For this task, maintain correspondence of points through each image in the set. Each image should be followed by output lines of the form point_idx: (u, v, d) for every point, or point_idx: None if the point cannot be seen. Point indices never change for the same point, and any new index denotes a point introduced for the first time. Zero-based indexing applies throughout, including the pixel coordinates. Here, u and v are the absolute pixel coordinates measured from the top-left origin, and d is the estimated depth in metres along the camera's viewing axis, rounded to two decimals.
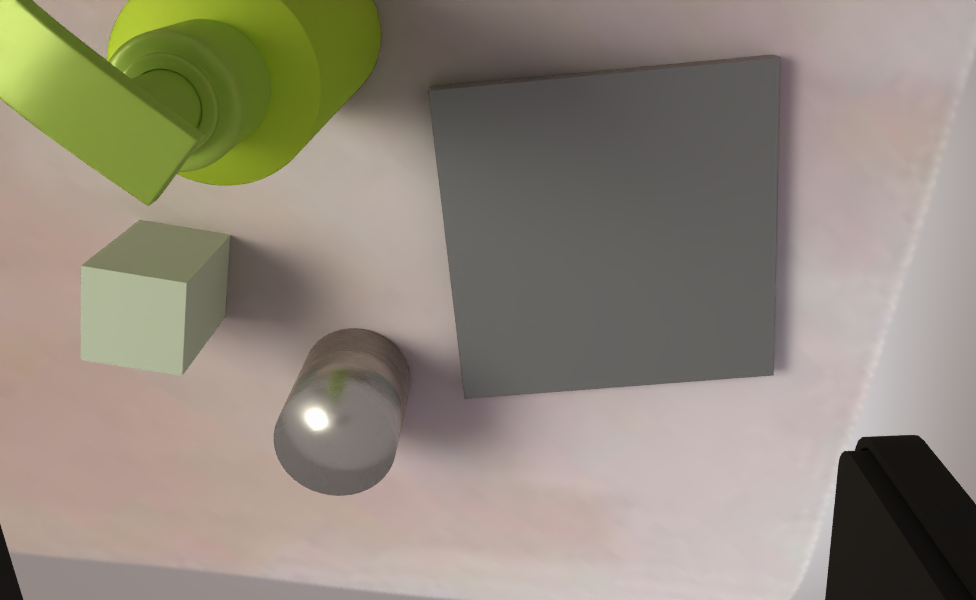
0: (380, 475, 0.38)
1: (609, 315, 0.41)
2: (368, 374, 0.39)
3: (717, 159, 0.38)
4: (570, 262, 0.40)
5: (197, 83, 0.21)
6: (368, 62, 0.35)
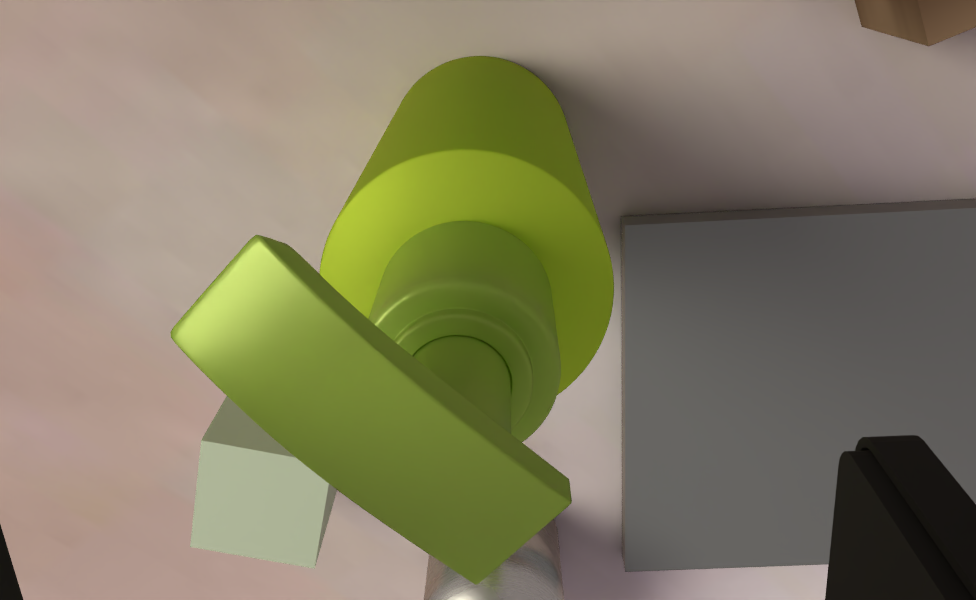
0: None
1: (809, 485, 0.34)
2: (530, 559, 0.32)
3: (965, 317, 0.31)
4: (771, 426, 0.33)
5: (510, 356, 0.15)
6: None
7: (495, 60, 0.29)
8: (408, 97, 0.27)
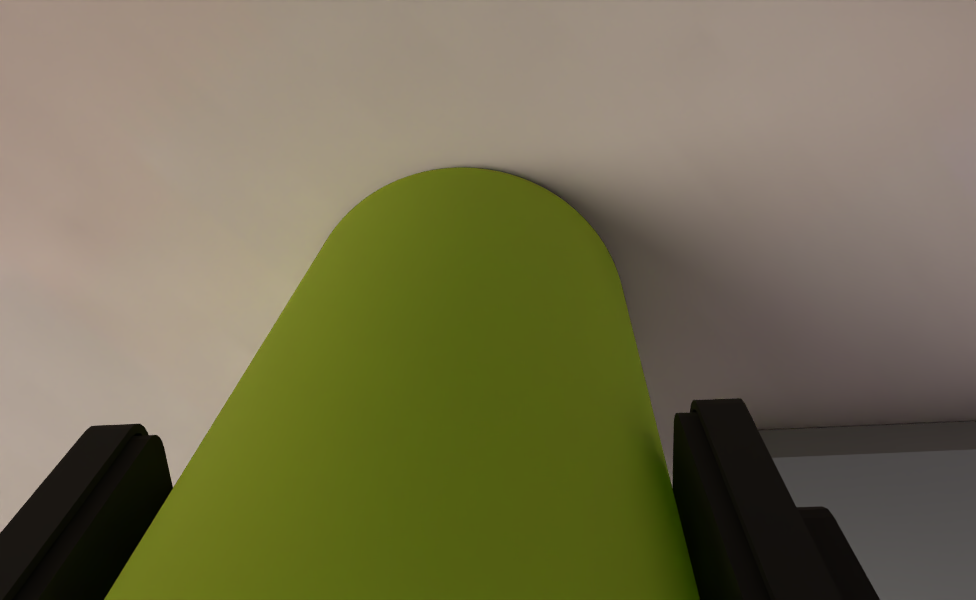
0: None
1: None
2: None
3: None
4: None
5: None
6: None
7: (491, 180, 0.15)
8: (314, 269, 0.14)
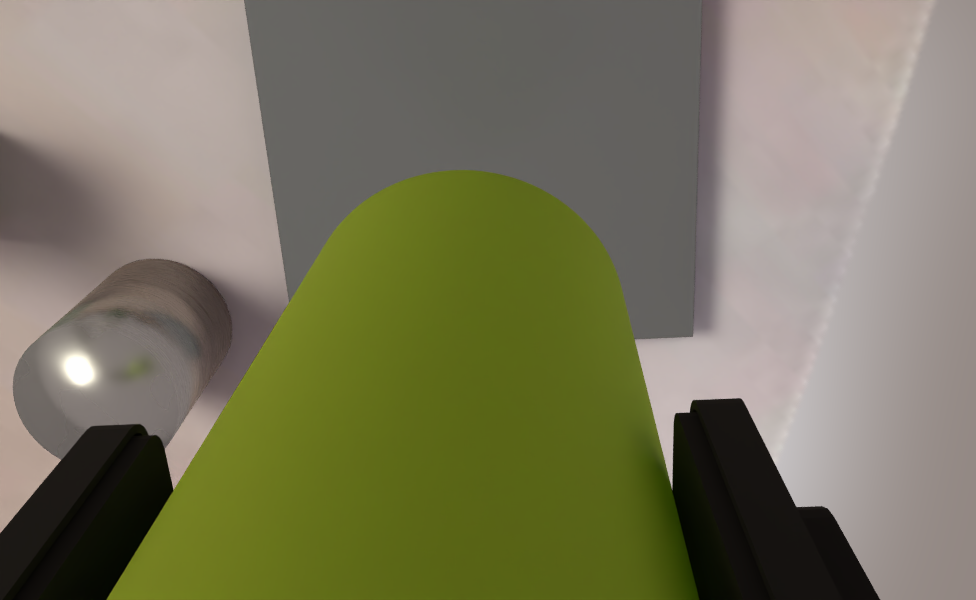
0: None
1: None
2: (150, 312, 0.29)
3: (621, 42, 0.29)
4: None
5: None
6: None
7: (491, 182, 0.15)
8: (314, 272, 0.14)
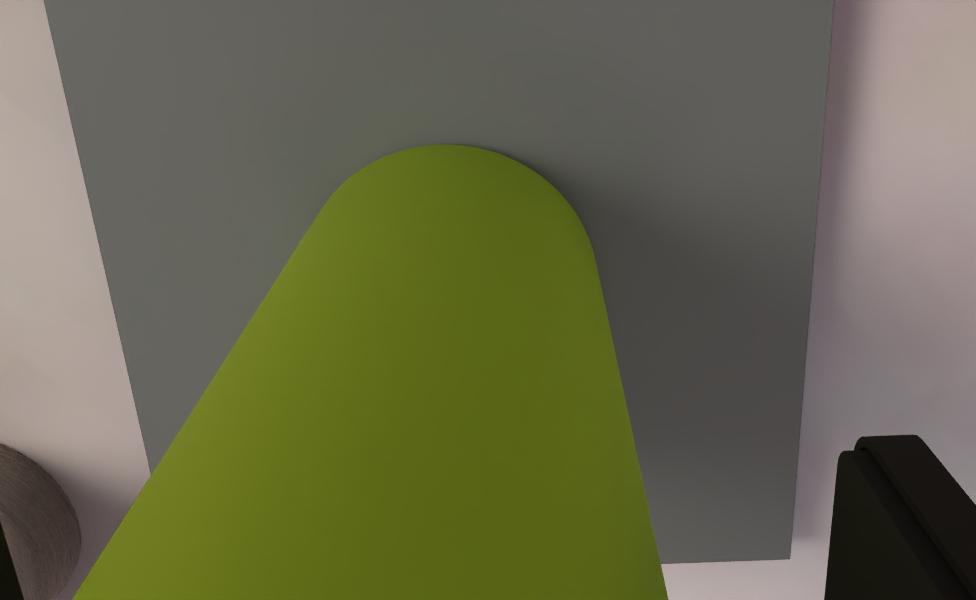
0: None
1: None
2: None
3: (690, 113, 0.17)
4: None
5: None
6: None
7: (471, 155, 0.17)
8: (307, 237, 0.15)
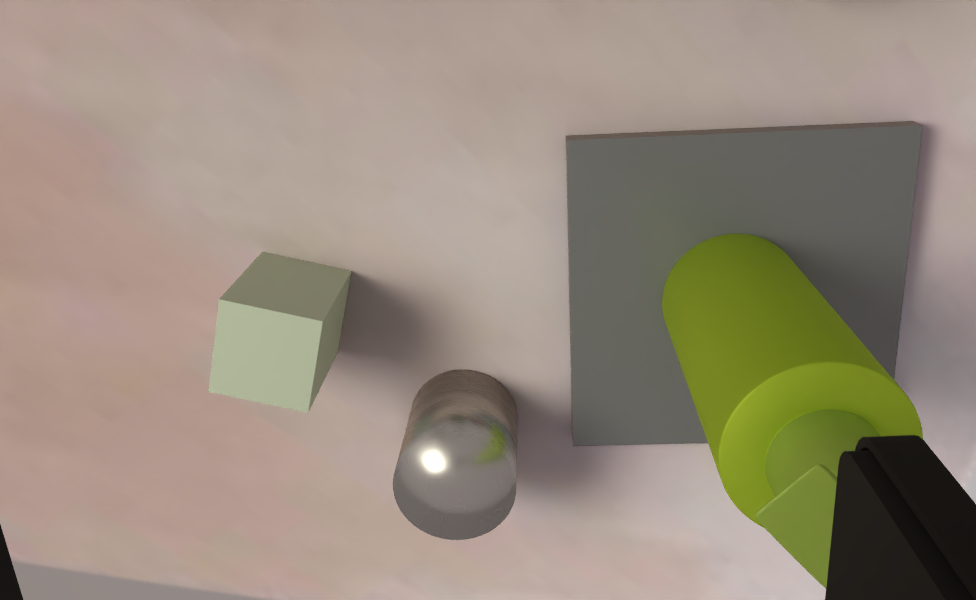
0: (496, 521, 0.38)
1: None
2: (488, 418, 0.38)
3: (850, 222, 0.38)
4: None
5: None
6: None
7: (753, 239, 0.38)
8: (699, 273, 0.36)
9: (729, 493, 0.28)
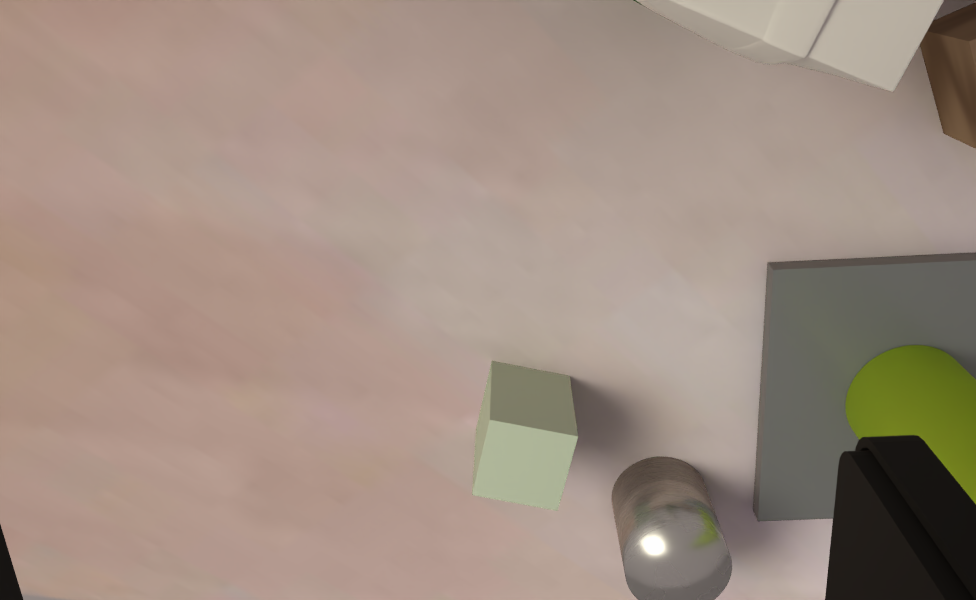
0: (712, 597, 0.44)
1: None
2: (701, 507, 0.44)
3: None
4: None
5: None
6: None
7: (931, 351, 0.44)
8: (894, 388, 0.42)
9: None
